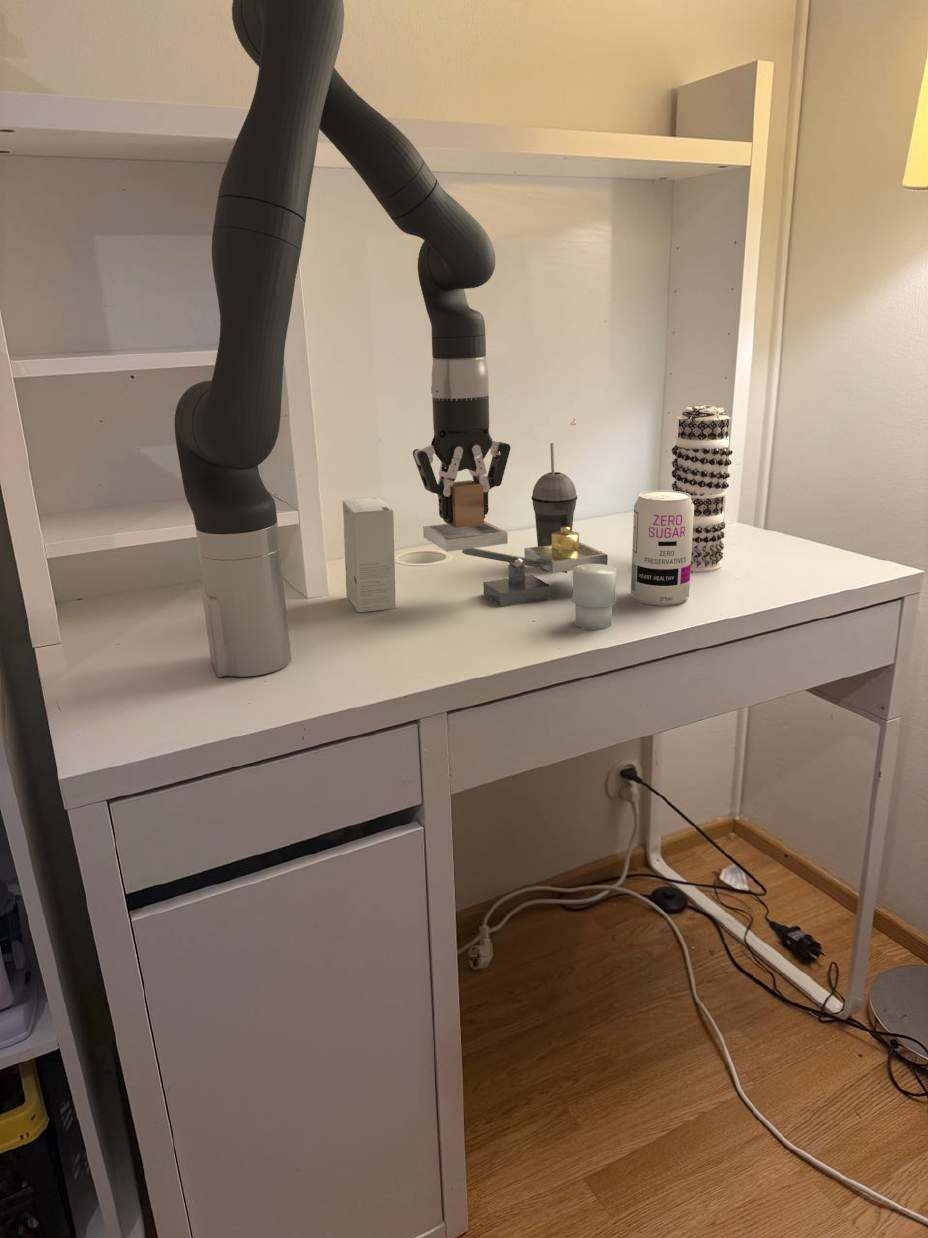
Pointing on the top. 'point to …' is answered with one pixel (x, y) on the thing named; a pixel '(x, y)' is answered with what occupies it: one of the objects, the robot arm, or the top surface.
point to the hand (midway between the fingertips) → (464, 519)
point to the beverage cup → (553, 504)
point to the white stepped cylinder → (594, 595)
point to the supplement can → (662, 547)
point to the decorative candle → (703, 479)
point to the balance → (516, 558)
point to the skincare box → (369, 554)
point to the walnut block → (467, 504)
